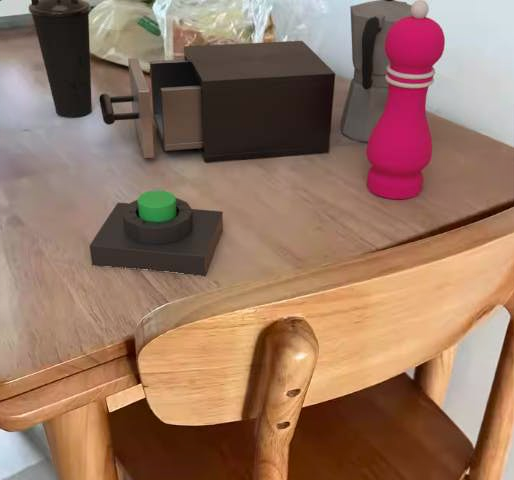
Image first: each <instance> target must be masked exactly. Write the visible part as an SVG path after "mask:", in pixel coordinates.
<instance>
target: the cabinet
mask: <svg viewBox="0 0 514 480" xmlns="http://www.w3.org/2000/svg"><path fill="white" fill-rule="evenodd" d="M185 59H187V60H188V62H189V64H190V66H191V67H192V69H193V71H194V73H195V75H196V77H197V79H198V80H199V82H200V84H201V86H202V117H203V148H198V150H199V152H200V155H201V157H202V159H203V161H204V163H207V164H208V163H218V162H230V161H242V160H243V161H244V160H256V159H268V158H280V157H293V156H304V155H305V156H306V155H318V154H329V152H330V143H331V131H332V130H331V129H332V119H333V118H332V117H333V106H334V97H335V96H334V93H335V84H336V83H335V82H336V72H335V71H334V70H333V69H331V68H330V66H329V65H327V64H326V62H325V61H324V60H322V58H321V57H319V56H318V54H317V53H315V52H314V50H312V49H311V48H310V47H309V45H307V44H306V43H305V42H304V40H290V41H289V40H287V41H285V40H284V41H269V42H268V41H267V42H248V43H246V42H245V43H226V44H203V45H185V46H183V60H185Z"/></svg>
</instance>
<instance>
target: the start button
mask: <svg viewBox="0 0 514 480" xmlns="http://www.w3.org/2000/svg"><path fill="white" fill-rule="evenodd" d="M176 198H177V197H176V196H175V194H174V193H172V192H170V191H166V190H159V189H157V190H150V191H145V192H143V193H141V194H140V195H139V196H138V197H137V200H138V210H139V217H140V218H141V219H143V220H145V221H154V222H161V221H167V220H170V219H172V218H174V217H176V214H177V212H176Z"/></svg>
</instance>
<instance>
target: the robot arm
mask: <svg viewBox="0 0 514 480" xmlns="http://www.w3.org/2000/svg"><path fill="white" fill-rule="evenodd" d="M71 3H73V4H78V0H71ZM31 4H32V6H37V4H39V0H31Z"/></svg>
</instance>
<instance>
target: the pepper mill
mask: <svg viewBox="0 0 514 480" xmlns="http://www.w3.org/2000/svg"><path fill="white" fill-rule="evenodd" d="M411 5H412V6H411V10H410V12H411V15H412V16H408V17H405V18H402V19H400V20H398V21H397V22H396V23H394V24H393V25H392V27H391V28H390V29H389V31H388V33H387V36H386V40H385V53H386V56H387V57H388V59H389V60H390V62H391V64H389V65H388V66H387V75H386V77H385V79H386V80H387V82H389V89H388V97H387V102H386V106H385V108H384V111H383V114H382V116H381V117H380V119H379V121H378V123H377V124H376V126H375V128H374V129H373V131H372V133H371V135H370V138H369V140H368V143H367V145H366V151H365V154H366V158H367V160H368V163H369V164H370V165H371V167H370V168H369V169H368V171H367V178H366V188H367V189H368V190H369V192H370V193H372V194H373V195H376V196H378V197H381V198H383V199H387V200H408V198H409V199H412V198H415V197H416V196H418V195H419V194H420V193H421V192H422V188H423V184H424V183H423V181H424V174H423V173H422V171H423V170H425V169H426V168H427V167H428V165H429V164H430V162H431V160H432V157H433V156H432V155H433V154H432V153H433V141H432V135H431V130H430V127H429V123H428V119H427V113H426V105H427V95H428V91H429V87H430V86H432V85H433V84H434V81H435V79H434V76H435V74H436V69H435V68H434V65H435V64H436V63H437V62H438V61H439V60H440V59H441V58H442V57H443V54H444V50H445V44H446V40H445V39H446V38H445V33H444V31H443V28H442V26H441V25H440V23H438V22H437V21H435V20H434V19H432V18H431V17H427V15H428V13H429V9H430V8H429V4H428V3H427V2H426V0H416V1H414V2H413V3H412V4H411Z"/></svg>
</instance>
